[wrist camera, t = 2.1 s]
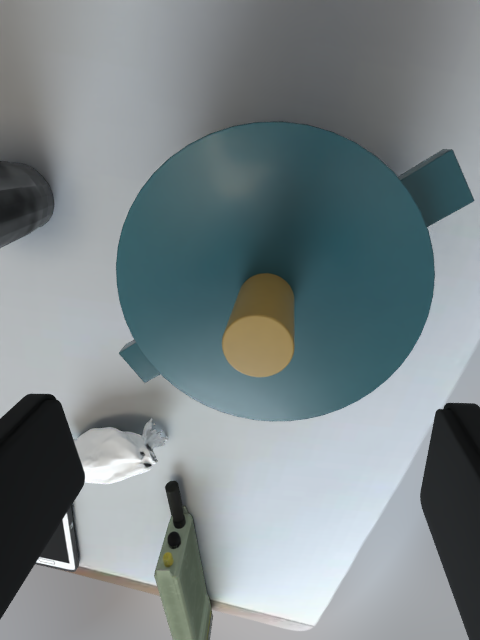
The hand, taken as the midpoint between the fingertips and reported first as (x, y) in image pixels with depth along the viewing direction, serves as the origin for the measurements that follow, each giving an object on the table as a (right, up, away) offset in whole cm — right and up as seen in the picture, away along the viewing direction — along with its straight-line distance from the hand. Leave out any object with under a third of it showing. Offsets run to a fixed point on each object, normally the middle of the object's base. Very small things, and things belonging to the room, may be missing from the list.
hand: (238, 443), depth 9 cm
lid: (+1, +4, +8) cm, 10 cm away
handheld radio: (-6, -24, +33) cm, 41 cm away
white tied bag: (-12, -9, +27) cm, 31 cm away
